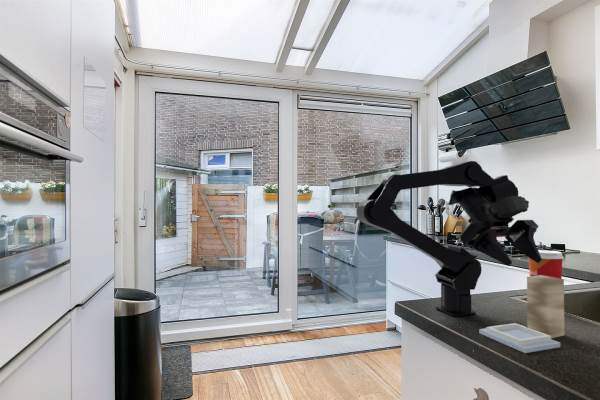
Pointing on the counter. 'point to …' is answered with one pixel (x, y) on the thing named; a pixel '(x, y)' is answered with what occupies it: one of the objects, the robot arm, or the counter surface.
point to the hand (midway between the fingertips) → (525, 263)
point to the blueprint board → (520, 337)
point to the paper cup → (547, 264)
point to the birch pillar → (545, 305)
